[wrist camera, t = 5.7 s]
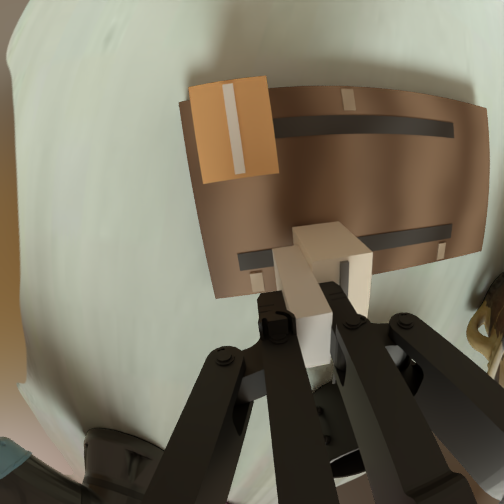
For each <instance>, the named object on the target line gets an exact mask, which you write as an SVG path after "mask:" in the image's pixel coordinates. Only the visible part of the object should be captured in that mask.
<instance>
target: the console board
mask: <svg viewBox="0 0 504 504" xmlns="http://www.w3.org/2000/svg"><path fill="white" fill-rule="evenodd" d="M268 92H269V99H270V105H271V112H272V120H273V127H274V134H275V142H276V150H277V158H278V166H279V173H276V174H268V175H260V176H253V177H245V178H238V179H232V180H225V181H219V182H213V183H207V184H203V180H202V174H201V168H200V162H199V156H198V150H197V143H196V137H195V130H194V124H193V117H192V110H191V103H190V100H187V101H182V102H179V107H180V114H181V121H182V128H183V135H184V141H185V147H186V153H187V159H188V165H189V171H190V177H191V182H192V188H193V193H194V199H195V204H196V209H197V214H198V219H199V224H200V229H201V234H202V239H203V244H204V249H205V253H206V258H207V263H208V267H209V272H210V276H211V281H212V285H213V289H214V294H215V298H216V299H218V298H226V297H234V296H242V295H249V294H257V293H264V292H271V291H277V286H276V277H275V268H274V260H273V252H272V249H273V248H280V247H287V246H294V244H293V232H292V227H298V226H305V225H313V224H321V223H329V222H337V221H339V222H340V223H341V224H342V225H343V226H345V227H346V228H347V229H348V230H349V231H350V232H351V233H352V234H354V235H355V236H356V237H357V238H358V239H359V240H360V241H361V242H362V243H363V244H365V245H366V246H367V247H368V248H369V249H370V250H371V251H372V252H373V259H372V275H373V274H378V273H383V272H389V271H394V270H399V269H404V268H408V267H413V266H418V265H423V264H427V263H432V262H436V261H441V260H445V259H450V258H454V257H458V256H462V255H467V254H471V253H475V252H479V251H481V250H482V245H483V239H484V232H485V225H486V217H487V207H488V195H489V173H490V151H489V130H488V118H487V109H486V108H483V107H480V106H476V105H473V104H469V103H465V102H461V101H457V100H452V99H448V98H443V97H438V96H433V95H427V94H421V93H415V92H408V91H401V90H392V89H382V88H370V87H353V86H297V87H279V88H268Z"/></svg>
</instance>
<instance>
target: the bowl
mask: <svg viewBox="0 0 504 504" xmlns="http://www.w3.org/2000/svg"><path fill="white" fill-rule="evenodd" d="M482 324H484V325H485V329H486V332H487V334H488V337H486V336H483V335H482V334H481V333H480V332H479V331H478V328H479V327H480V326H481V325H482ZM466 335H467V339H468V341H469V343H470V345H471V346H472V347H473V348H474V349H475V350H477V351H478V352H480V353H481V354H483V355H484V356H485V357H486V358H487V360H488V361H489V363H488V365H487V366H488V372H487V374H488V375H489V376H491V377H492V378H493V379H494V380H495V381H496V382H497V383H499V384H500V385H501V386H502V387H503V388H504V272H503V273H502V274H501V275H500V276H499V277H498V278H497V280H496V281H495V282H494V283H493V284H492V286H491V287H490V289H489V291H488V293H487V295H486V297H485V299H484V301H483V304H482V305H481V307H480V308H479V309H478V310H477V311H476V313H475V314H474V315H473V317H472V318H471V320H470V322H469V324H468V326H467V331H466Z"/></svg>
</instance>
